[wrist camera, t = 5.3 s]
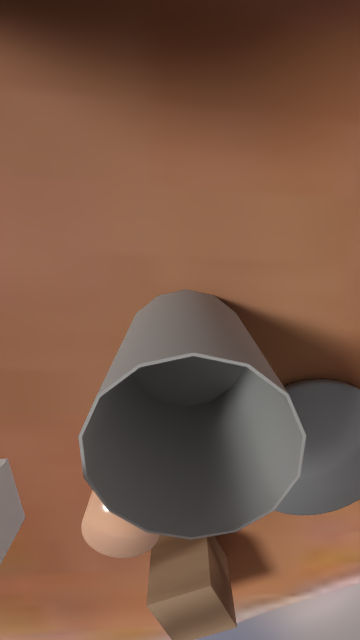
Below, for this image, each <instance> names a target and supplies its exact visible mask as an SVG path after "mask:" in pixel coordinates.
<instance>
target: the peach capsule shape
mask: <svg viewBox="0 0 360 640" xmlns="http://www.w3.org/2000/svg"><path fill="white" fill-rule="evenodd" d="M82 534H83V537H84V539H85V540H86V542H87V543H88V544H89V545H90V546H91V547H92V548H93V549H95V550H96V551H98V552H100V553H102V554H104V555H107V556H111V557H116V558H130V557H135V556H139V555H141V554H144V553H145V552H147V551H149V550H150V549H151V548H152V547H153V546H154V545H155V544H156V543H157V541H158V539H159V536H160V535H159V534H153V533H147V532H145V531H143V530H141V529H139V528H138V527H136V526H134V525H132V524H131V523H129V522H127V521H125V520H123V519H122V518H120V517H118V516H116V515H115V514H113V513H111V512H109V511H108V510H107V508H106V507H105V506H104V504H103V503H102V502H101V500H100V499H99V498H98V496H97V495H96V494H95V492H94V491H93V490H92V493H91V496H90V500H89V503H88V506H87V509H86V512H85V515H84V518H83V521H82Z"/></svg>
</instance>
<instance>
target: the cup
mask: <svg viewBox="0 0 360 640" xmlns="http://www.w3.org/2000/svg"><path fill="white" fill-rule="evenodd" d="M78 437H79V445H80V453H81V461H82V468H83V476H84V479H85V480H86V481H87V483H88V484H89V485H90V487H91V488H92V489H93V491H94V492H95V494H96V495H97V496H98V498H99V499H100V500H101V502H102V503H103V504H104V506H105V507H106V508H107V510H108V511H109V512H111V513H113V514H115V515H116V516H118V517H120V518H122V519H123V520H125V521H127V522H129V523H131V524H132V525H134V526H136V527H138V528H139V529H141V530H143V531H145V532H147V533H153V534H159V535H165V536H171V537H178V538H184V539H190V540H192V539H198V538H204V537H210V536H216V535H222V534H227V533H233V532H237V531H239V530H240V529H242V528H244V527H246V526H247V525H249V524H251V523H253V522H255V521H256V520H258V519H260V518H262V517H263V516H265V515H267V514H269V513H270V512H272V511H274V510H275V509H276V507H277V506H278V505H279V504H280V502H281V501H282V500H283V498H284V497H285V496H286V494H287V493H288V492H289V490H290V489H291V488H292V486H293V485H294V484H295V482H296V481H297V480H298V478H299V477H300V473H301V466H302V460H303V453H304V447H305V440H306V434H305V431H304V429H303V427H302V424H301V422H300V420H299V417H298V415H297V413H296V410H295V408H294V406H293V403H292V401H291V398H290V396H289V394H288V392H287V391H286V389H285V388H284V386H283V385H282V383H281V382H280V380H279V379H278V377H277V376H276V374H275V372H274V371H273V369H272V368H271V366H270V365H269V363H268V362H267V360H266V359H265V357H264V355H263V354H262V352H261V351H260V349H259V348H258V346H257V345H256V343H255V342H254V340H253V338H252V337H251V335H250V334H249V332H248V331H247V329H246V328H245V326H244V325H243V323H242V321H241V320H240V318H239V317H238V315H237V314H236V312H234V311H233V310H232V309H231V308H229V307H228V306H227V305H226V304H224V303H223V302H222V301H221V300H219V299H218V298H217V297H216V296H214V295H210V294H205V293H201V292H196V291H192V290H187V289H185V290H181V291H177V292H172V293H168V294H164V295H159V296H157V297H156V298H155V299H153V300H152V301H151V302H150V303H148V304H147V305H146V306H145V307H143V308H142V309H141V310H140V311H138V312H137V313H136V315H135V317H134V319H133V321H132V323H131V326H130V328H129V330H128V332H127V334H126V336H125V338H124V340H123V342H122V344H121V346H120V348H119V350H118V353H117V355H116V357H115V359H114V361H113V363H112V365H111V367H110V369H109V371H108V373H107V375H106V377H105V380H104V382H103V384H102V386H101V388H100V390H99V392H98V394H97V396H96V398H95V401H94V403H93V405H92V407H91V410H90V412H89V414H88V416H87V418H86V421H85V423H84V425H83V427H82V430H81V432H80V434H79V436H78Z"/></svg>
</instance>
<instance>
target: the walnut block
mask: <svg viewBox="0 0 360 640" xmlns="http://www.w3.org/2000/svg"><path fill="white" fill-rule="evenodd" d="M146 606H147V607H148V608H149V610H150V611H151V612H152V614H153V615H154V616H155V618H156V619H157V620H158V622H159V623H160V624H161V626H162V627H163V628H164V630H165V631H166V632H167V634H168V635H169V636H170V638H171V639H172V640H194V639H198V638H201V637H205V636H208V635H212V634H215V633H219V632H222V631H226V630H229V629H232V628H236V627H237V624H236V617H235V610H234V603H233V596H232V589H231V582H230V575H229V568H228V561H227V556H226V554H225V553H224V551H223V549H222V547H221V546H220V544H219V542H218V541H217V539H216V537H215V536H210V537H204V538H198V539H192V540H190V539H184V538H178V537H171V536H165V535H160V536H159V539H158V541H157V543H156V544H155V545H154V546H153V547H152V548H151V559H150V571H149V582H148V594H147V605H146Z"/></svg>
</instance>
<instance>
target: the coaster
mask: <svg viewBox="0 0 360 640" xmlns="http://www.w3.org/2000/svg"><path fill="white" fill-rule="evenodd" d="M284 388H285V389H286V391H287V392H288V394H289V396H290V398H291V401H292V403H293V406H294V408H295V410H296V413H297V415H298V417H299V420H300V422H301V424H302V427H303V429H304V431H305V434H306V440H305V447H304V453H303V460H302V466H301V473H300V477H299V478H298V480H297V481H296V482H295V484H294V485H293V486H292V488H291V489H290V490H289V492H288V493H287V494H286V496H285V497H284V498H283V500H282V501H281V502H280V504H279V505H278V506H277V507H276V509H275V511H278V512H281V513H286V514H292V515H316V514H323V513H327V512H331V511H335V510H338V509H341V508H343V507H345V506H348V505H350V504H352V503H354V502H355V501H357V500H359V499H360V388H359V387H357V386H355V385H352V384H349V383H347V382H343V381H338V380H332V379H311V380H303V381H299V382H295V383H291V384H289V385H286V386H284Z"/></svg>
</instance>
